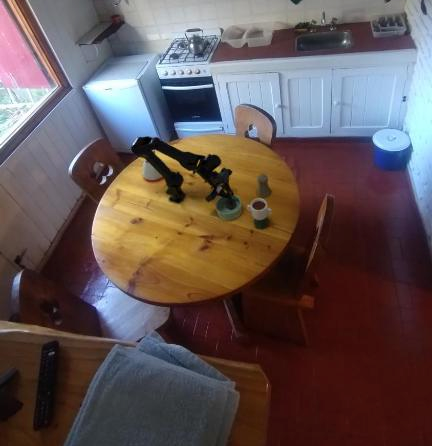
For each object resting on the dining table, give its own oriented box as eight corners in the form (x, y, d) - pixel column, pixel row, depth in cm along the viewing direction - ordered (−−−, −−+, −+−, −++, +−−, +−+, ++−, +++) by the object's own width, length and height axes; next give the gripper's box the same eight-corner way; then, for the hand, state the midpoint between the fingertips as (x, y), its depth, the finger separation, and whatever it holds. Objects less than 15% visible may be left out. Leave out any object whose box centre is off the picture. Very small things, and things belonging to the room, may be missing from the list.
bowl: (212, 216, 163) (210, 209, 161) (224, 197, 171) (222, 191, 168) (235, 223, 158) (234, 217, 155) (246, 204, 166) (245, 198, 163)
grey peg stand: (226, 210, 164) (223, 196, 158) (225, 202, 168) (222, 188, 162) (237, 209, 163) (234, 194, 157) (235, 201, 167) (233, 186, 161)
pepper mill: (256, 189, 172) (254, 173, 165) (268, 187, 172) (267, 171, 165) (259, 198, 167) (257, 182, 161) (271, 195, 167) (269, 179, 160)
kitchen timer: (172, 169, 194) (166, 148, 185) (157, 185, 186) (149, 164, 177) (154, 162, 201) (147, 142, 192) (138, 178, 193) (130, 157, 184)
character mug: (274, 219, 156) (273, 200, 148) (271, 232, 151) (269, 213, 143) (251, 215, 160) (248, 196, 152) (247, 227, 155) (244, 208, 147)
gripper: (206, 182, 147) (232, 206, 149) (226, 155, 159) (250, 178, 161) (194, 190, 156) (219, 213, 157) (214, 164, 168) (237, 185, 169)
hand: (232, 197), depth 161 cm, fingers closed on grey peg stand, 2 cm apart
